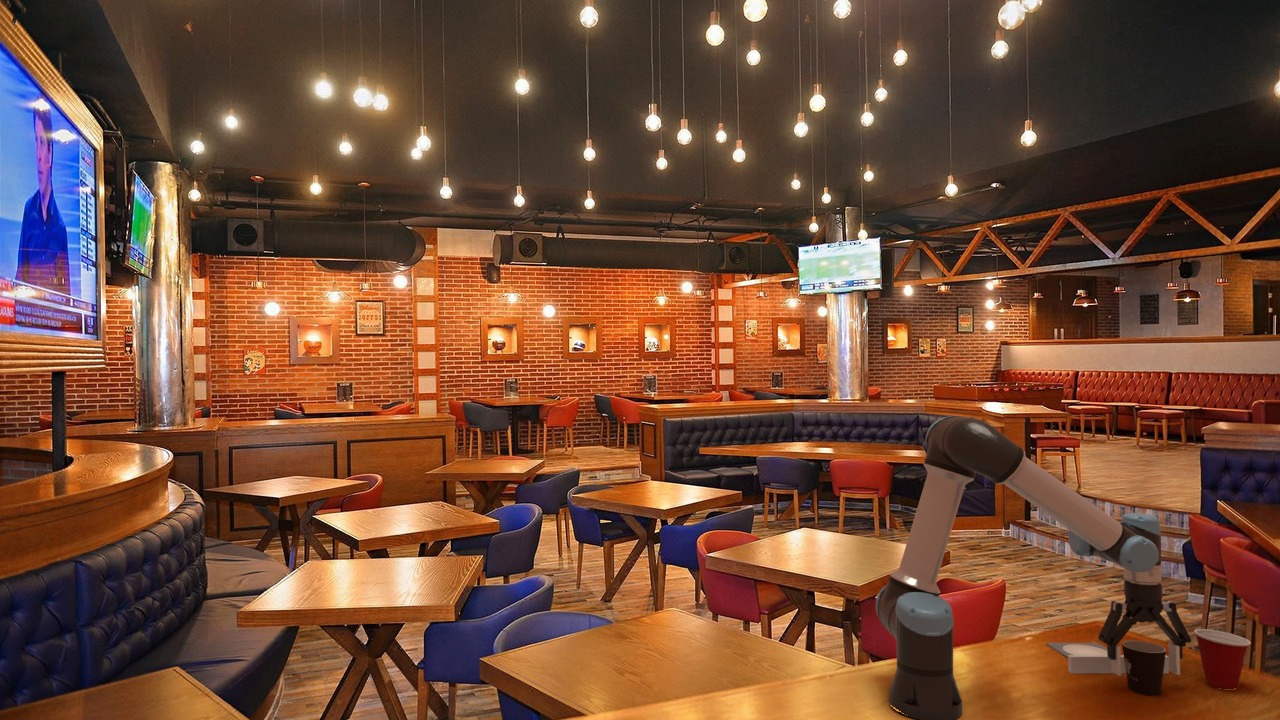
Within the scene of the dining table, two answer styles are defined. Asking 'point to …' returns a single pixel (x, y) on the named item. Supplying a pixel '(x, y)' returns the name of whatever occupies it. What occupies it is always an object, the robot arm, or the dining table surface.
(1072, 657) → the low wall
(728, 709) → the dining table surface
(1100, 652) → the mat
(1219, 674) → the plastic cup
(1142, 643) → the coffee mug
